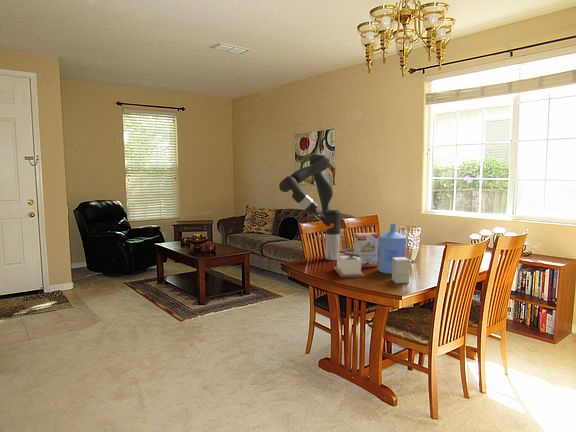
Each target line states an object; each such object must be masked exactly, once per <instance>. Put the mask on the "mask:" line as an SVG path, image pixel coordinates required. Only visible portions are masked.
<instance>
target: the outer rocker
mask: <svg viewBox="0 0 576 432" xmlns="http://www.w3.org/2000/svg"><path fill="white" fill-rule="evenodd" d="M344 254H345V255H349V256H350V257H352V256H355V257H359V255H358V254H356V253H354V252H352V251H350V252H346V251H344Z"/></svg>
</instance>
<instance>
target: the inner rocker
mask: <svg viewBox="0 0 576 432" xmlns="http://www.w3.org/2000/svg"><path fill="white" fill-rule="evenodd" d="M344 251H346V252H354V247H348V248H343V249H339V254H342V253H344Z"/></svg>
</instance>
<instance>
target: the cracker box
mask: <svg viewBox="0 0 576 432" xmlns="http://www.w3.org/2000/svg"><path fill="white" fill-rule="evenodd" d="M353 249H354V251H353V253H356V254H358V255H359V258H360V259H361V269H362V268H376V267H378V261H379V233H377V232H355V233H353Z"/></svg>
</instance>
